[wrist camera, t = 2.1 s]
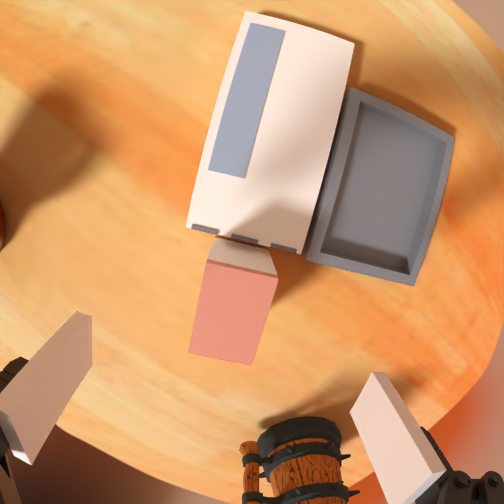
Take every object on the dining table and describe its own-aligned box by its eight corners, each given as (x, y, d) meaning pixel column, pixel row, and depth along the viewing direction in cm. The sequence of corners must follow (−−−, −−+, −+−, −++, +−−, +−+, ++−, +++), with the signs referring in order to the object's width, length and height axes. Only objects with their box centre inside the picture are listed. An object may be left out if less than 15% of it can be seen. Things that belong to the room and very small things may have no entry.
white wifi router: (245, 20, 17) (245, 10, 16) (347, 50, 18) (355, 43, 17) (189, 222, 21) (185, 227, 20) (296, 248, 22) (301, 254, 21)
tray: (343, 92, 19) (352, 86, 17) (442, 138, 20) (455, 137, 19) (300, 253, 22) (305, 260, 21) (403, 278, 23) (413, 286, 22)
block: (214, 236, 22) (206, 262, 16) (268, 249, 22) (278, 278, 16) (198, 309, 23) (188, 352, 18) (248, 320, 24) (251, 365, 18)
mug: (359, 423, 28) (393, 502, 17) (309, 470, 30) (325, 543, 19) (256, 396, 26) (266, 500, 15) (214, 451, 28) (210, 537, 17)
